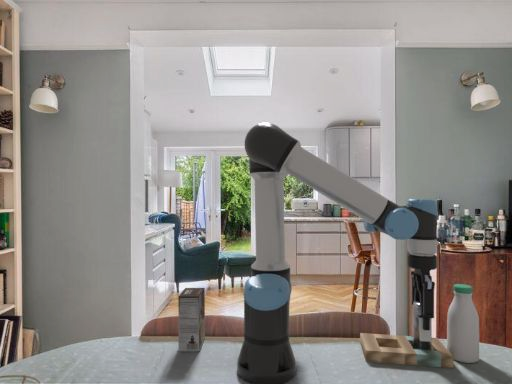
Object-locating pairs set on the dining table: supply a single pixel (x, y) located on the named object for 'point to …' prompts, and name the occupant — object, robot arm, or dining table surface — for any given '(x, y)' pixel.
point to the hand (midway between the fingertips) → (422, 336)
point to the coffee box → (191, 319)
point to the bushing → (416, 336)
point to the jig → (403, 351)
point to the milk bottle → (463, 326)
